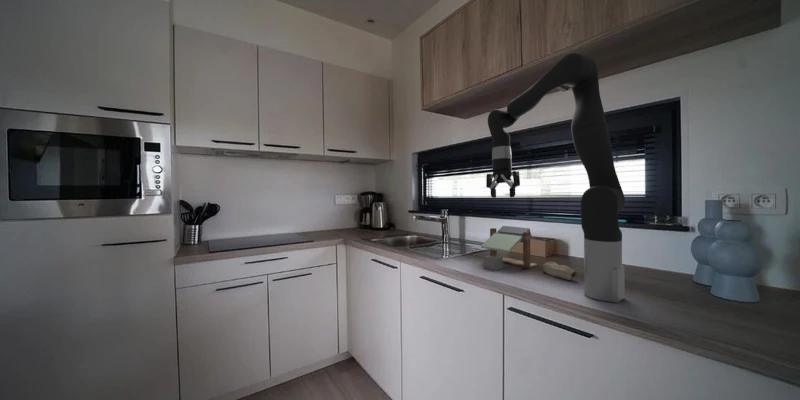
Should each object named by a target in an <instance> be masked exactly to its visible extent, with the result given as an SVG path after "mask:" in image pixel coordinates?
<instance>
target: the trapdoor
mask: <svg viewBox="0 0 800 400" xmlns="http://www.w3.org/2000/svg"><path fill="white" fill-rule="evenodd" d="M496 232H498V233H507V234H515V235H523V232H530V239H531V238H533V237H532V234H531V233H532V232H531V229H530V228H529V227H520V226H519V227H517V226H508V225H502V226H501V227H500V228H499V229H498V230H496ZM498 233H494V234H493V235H492V236H491V237H490V236H489V238H488V239H486V240H485V241H484V242H483V243H482V244H481V245H480V248H482V249H486V250H490V249H491V250H496V251H497V252H504V253H510V252H512V250H514V248H515V247H516V246H517V245H518V244H519V243H523V237H522V236H515V235H507V234H498Z"/></svg>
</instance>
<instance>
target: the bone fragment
mask: <svg viewBox="0 0 800 400" xmlns="http://www.w3.org/2000/svg"><path fill="white" fill-rule="evenodd" d="M542 269H543V273H545V274H547V275H549V276H552V277H556V278H560V279H563V280H566V281H570V280H572V279H573V278H575V277H577V276H578V272H577V271H576V270H574V269H573V268H572V267H569V266H567V265H564V264H563V265H562V264H561V265H560V264H558V263H557V262H555V261H547V262H545V263H544V264H542Z"/></svg>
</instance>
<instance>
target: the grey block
mask: <svg viewBox="0 0 800 400" xmlns="http://www.w3.org/2000/svg"><path fill="white" fill-rule="evenodd" d="M483 258H484V260H483V261H484V267H483V268H484V269H486V270H492V271H498V270H501V269H503V268H504V266H503V265H504V263H503V256H501V255H497V256H496V255H490V254H489V255H486V256H485V255H484V257H483Z"/></svg>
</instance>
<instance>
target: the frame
mask: <svg viewBox="0 0 800 400" xmlns="http://www.w3.org/2000/svg"><path fill="white" fill-rule="evenodd" d="M530 232H531V231H530ZM530 232H523V235H515V234H507V233H498V232H497V228H496V227H495V228H494V227H493V228H492V227H491V228H489V238H490V237H491V236H492V235H493V234H494V233H498V234H507V235H515V236H522V237H523V242H522V252H523V253H522V255H523V256H522V260H519V259H514V258H509V257H503V256H502V257H503V264H509V265H514V266H519V267H522V268H524V269H531V268H534V267H537V266H538V263H534V262H531V238H530ZM497 252H498V251H496V250H491V249H489V253H490V254H489V255H496V256H498V255H497V254H498V253H497Z"/></svg>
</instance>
